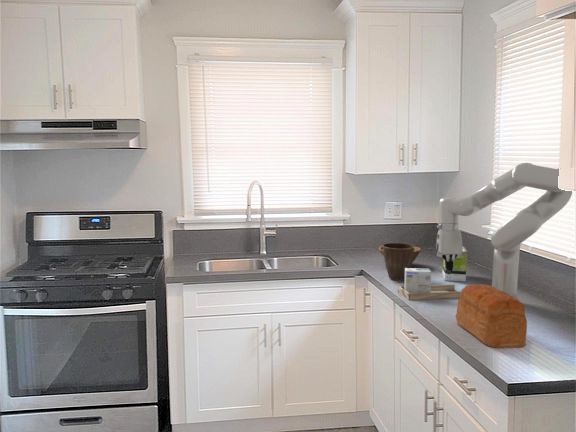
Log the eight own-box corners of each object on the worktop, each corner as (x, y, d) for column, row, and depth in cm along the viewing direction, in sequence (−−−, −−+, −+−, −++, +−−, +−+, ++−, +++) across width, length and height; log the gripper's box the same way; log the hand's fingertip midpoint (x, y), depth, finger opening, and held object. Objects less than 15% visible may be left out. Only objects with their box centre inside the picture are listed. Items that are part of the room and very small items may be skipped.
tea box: (466, 282, 253) (467, 251, 251) (444, 280, 255) (445, 250, 253) (462, 274, 268) (464, 245, 266) (441, 273, 270) (443, 244, 268)
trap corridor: (467, 297, 226) (467, 291, 226) (408, 299, 222) (409, 293, 222) (453, 289, 238) (454, 284, 238) (397, 292, 234) (398, 286, 234)
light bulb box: (428, 292, 232) (429, 268, 231) (430, 296, 226) (432, 271, 224) (403, 291, 234) (404, 267, 232) (404, 295, 227) (405, 270, 226)
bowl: (368, 265, 288) (369, 247, 287) (397, 260, 302) (398, 243, 300) (400, 273, 271) (400, 253, 269) (429, 267, 284) (430, 248, 283)
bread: (488, 349, 167) (491, 301, 166) (452, 322, 194) (454, 281, 192) (530, 347, 169) (533, 300, 167) (489, 321, 195) (491, 280, 194)
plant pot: (418, 281, 253) (419, 248, 251) (388, 282, 250) (389, 249, 248) (405, 274, 267) (406, 242, 266) (377, 275, 264) (377, 243, 263)
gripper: (436, 229, 223) (436, 272, 224) (469, 227, 225) (470, 270, 227) (428, 227, 230) (428, 269, 232) (461, 225, 232) (461, 267, 234)
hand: (449, 269), depth 229 cm, fingers closed
